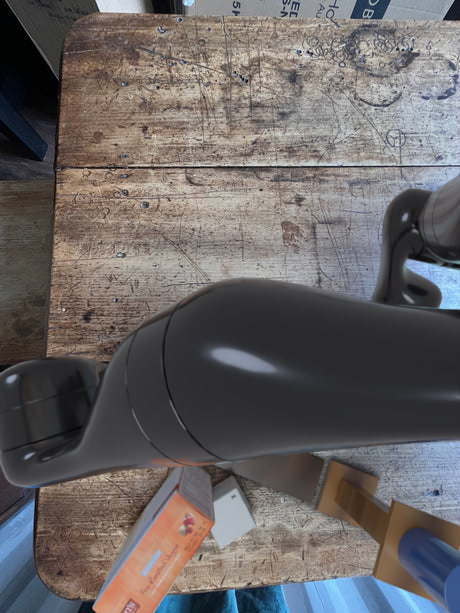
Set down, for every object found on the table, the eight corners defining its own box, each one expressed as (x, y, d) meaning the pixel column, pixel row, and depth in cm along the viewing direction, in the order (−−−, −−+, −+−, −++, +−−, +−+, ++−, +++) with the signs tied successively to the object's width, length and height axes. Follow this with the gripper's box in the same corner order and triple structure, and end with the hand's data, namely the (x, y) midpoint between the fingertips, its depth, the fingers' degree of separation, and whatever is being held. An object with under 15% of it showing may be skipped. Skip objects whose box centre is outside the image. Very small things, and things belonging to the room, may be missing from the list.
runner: (207, 462, 61) (207, 462, 61) (222, 420, 63) (222, 420, 62) (310, 502, 61) (311, 503, 60) (323, 460, 62) (324, 460, 62)
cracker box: (159, 554, 58) (132, 648, 38) (128, 529, 59) (86, 608, 38) (214, 476, 61) (217, 525, 40) (185, 452, 61) (173, 489, 41)
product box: (200, 494, 60) (199, 509, 53) (233, 473, 61) (236, 486, 54) (218, 530, 59) (220, 550, 52) (251, 509, 60) (258, 526, 53)
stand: (315, 508, 61) (374, 578, 39) (330, 459, 62) (395, 501, 41) (361, 526, 61) (446, 607, 39) (375, 476, 62) (464, 528, 41)
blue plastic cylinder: (392, 568, 40) (438, 615, 32) (404, 520, 41) (452, 553, 33) (436, 586, 39) (493, 637, 32) (448, 537, 40) (506, 575, 33)
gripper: (331, 366, 44) (299, 452, 53) (450, 379, 44) (398, 462, 54) (320, 327, 50) (293, 411, 59) (424, 339, 51) (382, 420, 60)
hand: (343, 435), depth 57 cm, fingers closed on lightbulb, 6 cm apart
